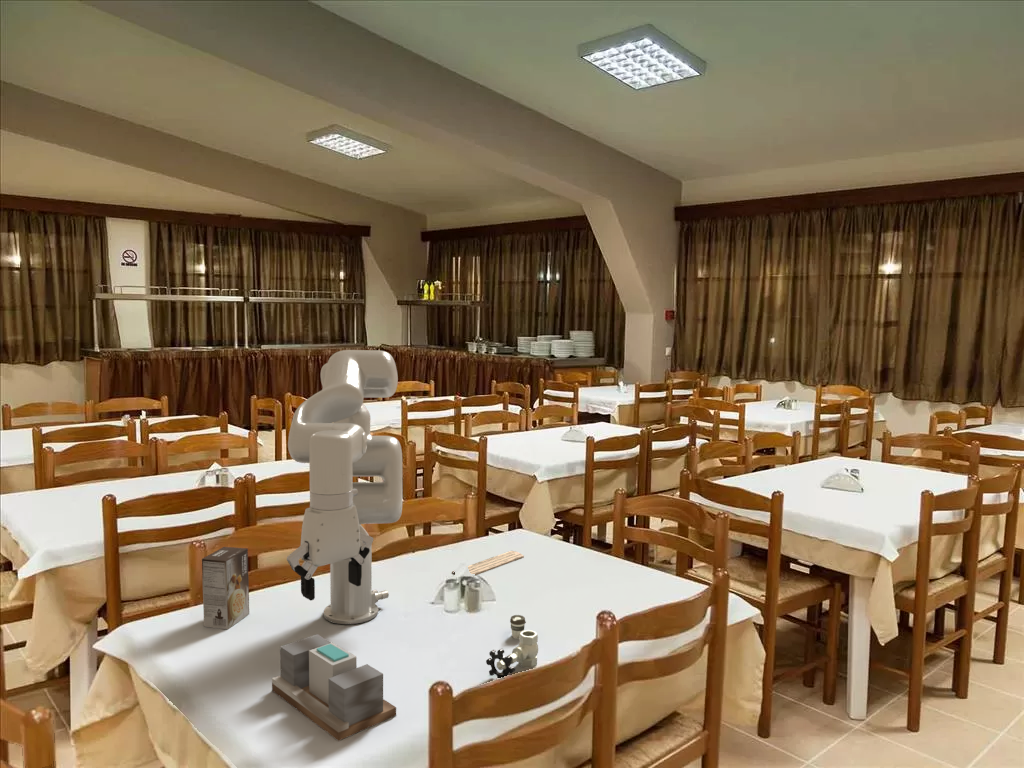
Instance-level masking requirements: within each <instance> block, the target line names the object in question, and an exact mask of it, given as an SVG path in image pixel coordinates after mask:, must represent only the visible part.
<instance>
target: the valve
mask: <svg viewBox="0 0 1024 768" xmlns="http://www.w3.org/2000/svg"><path fill="white" fill-rule="evenodd" d="M538 639H539V636H538V633H537V632H536V631H534V630H530V629H527V630H525V629H524V631H522V632H521V633H520V634H519V639H518V641H519V643H518V646H515V648H513V649H512V651H511V654H508V655H506V656H505V655H504V654H505V650H504V649H503V648H500V649H497V650H496V649H492V650H490V651H489V653H488V654H489V658H488V659H486V660H485V663H486V665H487V666H490V668H491V669H490V670H489V671H488V674H489V676H492V677H493V676H496V679H497V678H501V677H502V678H504V676H507V675H509V674H513V673H515V672H516V667H515V666H512V665H513V664H515V663H516V662H517V663H518V664H519V665H520V666H521V667H522V668H534V667H535V666H536V665H537V664H538V657H537V656H538V653H539V644H538ZM495 660H498V661H497V662H496V661H495ZM495 662H496V663H495ZM495 664H496V665H495ZM498 670H499V671H501V670H502V671H501V672H499V671H498Z"/></svg>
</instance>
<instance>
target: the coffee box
mask: <svg viewBox="0 0 1024 768" xmlns="http://www.w3.org/2000/svg"><path fill="white" fill-rule="evenodd" d="M248 550H249V548H246V547H245V548H243V547H232V546H231V547H230V546H222V547H220V548H219V549H217V550H216V551H214V552H212V553H210V554H208V555H207V556H204V557H203V558H201V572H202V574H201V577H202V600H203V601H202V603H203V605H202V606H203V627H205V628H212V629H222V630H224V629H225V630H229V629H231V628H232V627H234V626H235V625H236V624H238V623H239V622H241V620H243V619H244V618H246V617H247V616H249V615H250V590H249V589H250V588H249V587H250V586H249V584H250V583H249V579H250V578H249V551H248Z"/></svg>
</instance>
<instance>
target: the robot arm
mask: <svg viewBox="0 0 1024 768" xmlns="http://www.w3.org/2000/svg"><path fill="white" fill-rule="evenodd" d="M396 365H397V364H396V362H395V360H394V357H393V356H392V355H391V353H389V352H387V351H385V350H379V349H378V350H377V349H376V350H375V349H374V350H372V349H371V350H369V349H368V350H366V349H364V350H363V349H343V350H339V351H336V352H335V353H333V354H332V355H331V356H330V357H329V359H328V361H327V362H326V363H325V364H323V365H322V367H321V370H320V382H321V386H322V389H321V390H319V391H318V392H316V393H314V394H313V395H311V396H310V397H308V398H307V399H305V400H304V401H303V402H302V403H300V405H298V407H297V408H296V410H295V411H294V414H293V417H292V420H291V425H290V428H289V433H288V441H287V448H288V449H287V450H288V453H289V455H290V457H291V459H292V460H294V461H295V462H297V463H301V464H309V466H308V467H309V507H307V508H305V510H304V514H303V519H302V525H301V533H300V534H301V536H300V545H299V547H297V548H296V549H295V550H293V551H292V552H291V553H290V554H289V555H287V557H286V561H287V563H288V564H289V566H290V568H291V570H292V571H293V572H295V573H296V574H297V575H298V576H300V592H301V595H302V596H303V597H304V598H305V599H307V600H308V601H314V600H315V597H316V592H315V591H316V589H315V588H316V586H315V578H314V577H313V575H314V573H315V572H316V571H317V569H318V567H323V566H326V565H329V569H330V570H329V571H330V573H329V574H330V576H329V577H330V581H329V582H330V583H329V584H330V586H329V587H330V603H329V604H328V605H327V606H326V607H325V608H324V610H323V618H324V619H326V620H327V621H328V622H331V623H333V624H339V625H354V624H356V625H357V624H361V623H365V622H368V621H370V620H373V619H374V618H376V616H378V614H379V606H378V605H377V604H376V603H378V602H379V601H381V600H384V599H388V598H389V596H390V595H389V594H390V593H389V592H388V590H386V589H385V590H384V589H383V590H381V591H379V590H377V589H373V590H372V583H373V582H372V577H373V576H372V573H373V572H372V564H373V563H372V557H373V556H372V553H373V552H372V548H373V546H372V544H373V541H374V537H373V536H370V535H369V533H368V532H367V530H366V529H365V528H364V527H363V525H367V524H371V525H372V524H392V523H397V522H398V521H399V520H400V518H401V516H402V512H403V451H402V446H401V443H400V441H399V440H398V438H396V437H394V436H390V435H372V433H371V413H370V412H369V410H368V409H367V407H366V406H365V404H364V398H377V399H378V398H379V399H380V398H382V399H383V398H390V397H392V396H394V394H395V393H396V391H397V389H398V383H399V381H398V380H399V378H398V377H399V376H398V370H397V369H398V368H397V366H396ZM354 477H379V478H381V479H382V480H383V481H382V482H381V481H380V482H379V481H378V482H377V481H376V482H373V481H372V482H371V481H369V482H366V481H365V482H364V481H363V482H362V481H358V482H355V481H354V482H353V478H354ZM300 560H302V561H303V563H302V564H300ZM378 591H379V592H378Z"/></svg>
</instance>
